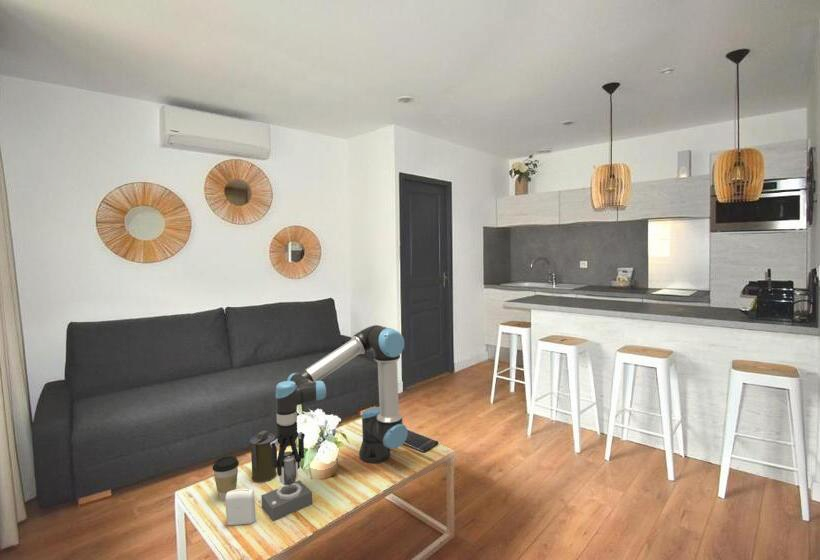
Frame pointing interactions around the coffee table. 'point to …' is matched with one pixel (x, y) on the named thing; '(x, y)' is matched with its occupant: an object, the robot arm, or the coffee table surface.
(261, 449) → the canister
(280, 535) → the coffee table surface
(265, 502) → the grey holder base
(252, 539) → the coffee table surface
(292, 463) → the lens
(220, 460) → the coffee cup
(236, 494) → the photo printer
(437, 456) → the coffee table surface
